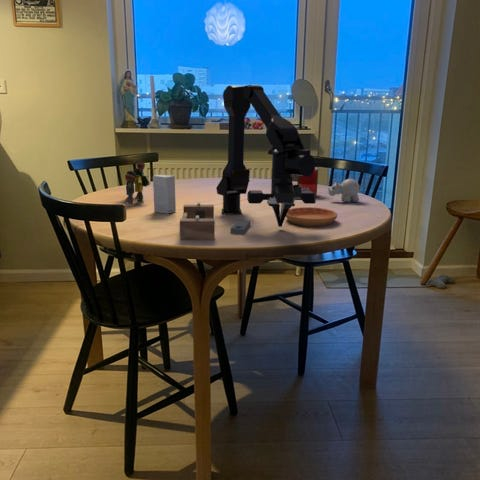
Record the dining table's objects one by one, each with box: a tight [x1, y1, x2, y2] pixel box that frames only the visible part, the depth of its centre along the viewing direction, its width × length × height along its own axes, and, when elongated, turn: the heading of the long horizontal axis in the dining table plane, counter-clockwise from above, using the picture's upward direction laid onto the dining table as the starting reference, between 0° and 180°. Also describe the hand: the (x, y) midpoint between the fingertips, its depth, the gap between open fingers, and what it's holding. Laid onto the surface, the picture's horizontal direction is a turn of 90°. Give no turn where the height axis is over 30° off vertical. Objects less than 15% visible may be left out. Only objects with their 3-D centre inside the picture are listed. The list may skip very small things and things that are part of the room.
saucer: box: [285, 206, 338, 227], centre depth 141 cm, size 16×16×3 cm
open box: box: [179, 201, 216, 241], centre depth 128 cm, size 21×9×6 cm, turn 4°
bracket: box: [230, 219, 252, 235], centre depth 130 cm, size 4×10×2 cm, turn 169°
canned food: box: [296, 166, 319, 196], centre depth 182 cm, size 8×8×11 cm
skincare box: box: [152, 174, 177, 215], centre depth 149 cm, size 6×4×12 cm
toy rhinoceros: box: [327, 178, 361, 203], centre depth 171 cm, size 7×12×8 cm, turn 95°
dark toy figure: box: [124, 162, 151, 207], centre depth 166 cm, size 23×9×13 cm, turn 18°
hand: (279, 226), depth 131 cm, fingers closed
